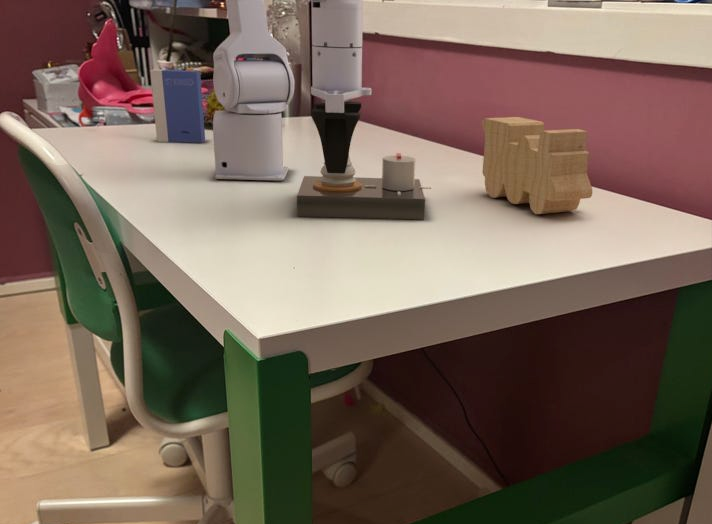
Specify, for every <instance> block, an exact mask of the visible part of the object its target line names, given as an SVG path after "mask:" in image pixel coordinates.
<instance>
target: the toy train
mask: <svg viewBox="0 0 712 524" xmlns="http://www.w3.org/2000/svg"><path fill="white" fill-rule="evenodd" d="M481 127H482V131H483V134H484V136H485V137H484V149H483V150H484V151H483V160H482V170H481V171H482V172H481V173H482V176H483V177H484V187H485V191H486V193H487V195H488V197H490V198H493V199H496V198H497V199H498V198H507V200H508V202H509V203H510V204H513V205H518V204H528V203H529V207H530V210H531V211H532V212H533V214H535V215H546V214H557V213H566V212H574V211H575V210H577V209H578V207H579V205H580V203H581V200H582V199H583V200H584V199H585V200H586V199H591V198H592V196H593V187H592V184H591V181H590V179H589V175H588V166H589V158H590V152H589V151H587V150H586V144H587V135H588V131H587V130H583V129H579V128H575V129H574V128H573V129H550V130H548V129H547V130H545V124H544V122H543V121H539V120H536V119H531V118H526V117H522V116H521V117H520V116H510V117H508V116H507V117H485V118H483V119H482V121H481Z"/></svg>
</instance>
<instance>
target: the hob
mask: <svg viewBox="0 0 712 524" xmlns="http://www.w3.org/2000/svg"><path fill="white" fill-rule="evenodd" d="M322 176H323V175H320V176H319V175H318V176H316V175H304V176H303V178H302V181H301V184H300V186H299V188H298V191H297V194H296V216H297V217H299V218H301V217H302V218H303V217H305V218H338V219H339V218H340V219H341V218H342V219H344V218H345V219H346V218H347V219H381V220H384V219H385V220H416V221H417V220H419V221H420V220H423V221H424V220H425V213H426V197H425V194H424V190H431V189H432V187H431V186H422V183H421V180H420V178H415V180H414V189H412V190H407V191H393V190H387V189H384V188H382V177H358V176H357V177H356V176H355V177H354V176H353V177H354V178H355V179H356V181H358V182H360V183H361V184H362V187H361V188H360V189H358V190H353V191H343V192H335V191H324V190H319V189H316V188H314V187H313V182H315V181H317V180H320V178H321V177H322Z"/></svg>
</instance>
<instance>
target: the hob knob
mask: <svg viewBox="0 0 712 524" xmlns="http://www.w3.org/2000/svg"><path fill="white" fill-rule="evenodd" d="M381 167H382V169H381V178H382V188H384V189H387V190H393V191H407V190H412V189H414V180H415V179H416V178H415V176H416V158H414V157H412V156H407V155H402V153H401V152H396V153H395V155H387V156H383V157H382V166H381Z"/></svg>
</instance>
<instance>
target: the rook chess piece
mask: <svg viewBox="0 0 712 524" xmlns="http://www.w3.org/2000/svg"><path fill="white" fill-rule="evenodd" d="M323 164H324V165H323V166H322V167H321V169H320V174H321V176H322V177H321V178H320V181H321V182H322V184H324V185H326V186H332V187H347V186H351V185H353V184H354V183H355V181H356V179H355V178H354V176H355V175H356V172H357V171H356V168H355V167H354V166H353V165H352V164H353V162H352V161H351V157H350V155H349V156H348V162H347V167H346V171H345V173H344V174H343V173H327V169H326V166H325V161H324V162H323Z"/></svg>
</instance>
